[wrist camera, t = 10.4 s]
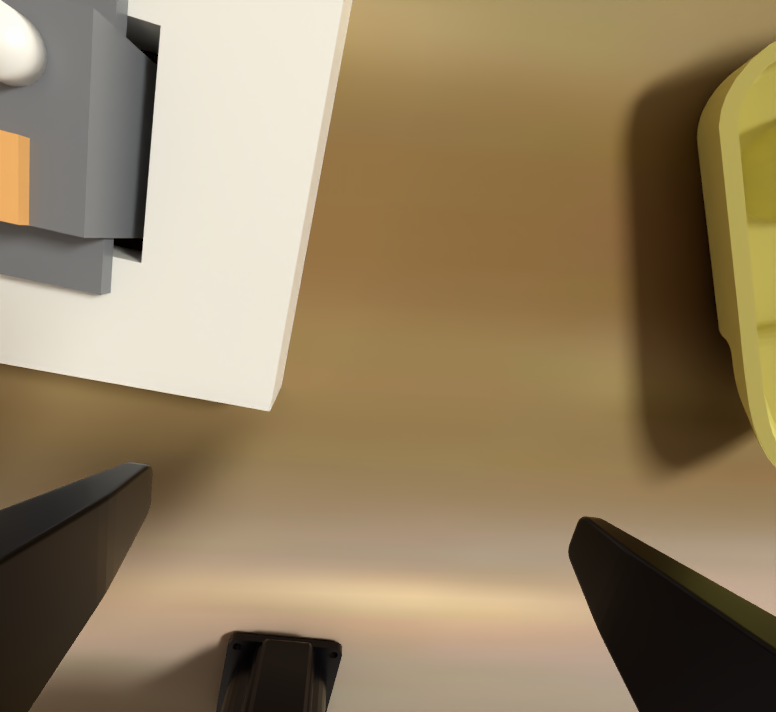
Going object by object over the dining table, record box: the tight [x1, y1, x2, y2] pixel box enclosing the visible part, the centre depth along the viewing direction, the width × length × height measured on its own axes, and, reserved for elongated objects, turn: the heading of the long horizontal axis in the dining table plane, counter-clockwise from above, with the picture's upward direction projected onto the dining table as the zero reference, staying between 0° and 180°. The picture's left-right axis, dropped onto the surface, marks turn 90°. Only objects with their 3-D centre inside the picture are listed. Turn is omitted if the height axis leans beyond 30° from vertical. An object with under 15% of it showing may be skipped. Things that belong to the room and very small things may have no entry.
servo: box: [0, 0, 157, 295], centre depth 13 cm, size 10×4×6 cm, turn 166°
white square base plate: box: [0, 0, 353, 411], centre depth 14 cm, size 17×16×3 cm
